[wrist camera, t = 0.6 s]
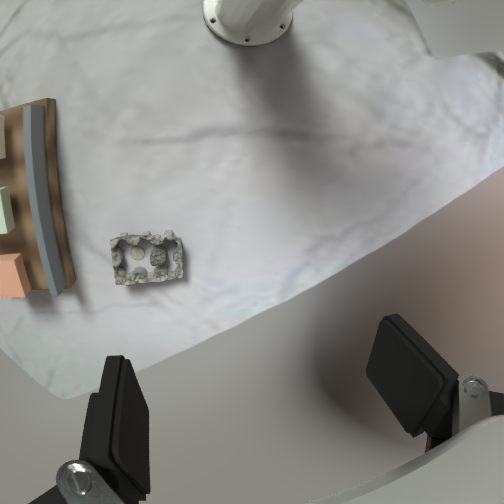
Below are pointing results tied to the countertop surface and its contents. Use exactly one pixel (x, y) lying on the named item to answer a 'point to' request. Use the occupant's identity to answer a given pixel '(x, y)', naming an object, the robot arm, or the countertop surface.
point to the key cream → (2, 138)
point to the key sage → (6, 211)
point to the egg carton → (155, 259)
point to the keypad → (35, 196)
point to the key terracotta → (13, 276)
